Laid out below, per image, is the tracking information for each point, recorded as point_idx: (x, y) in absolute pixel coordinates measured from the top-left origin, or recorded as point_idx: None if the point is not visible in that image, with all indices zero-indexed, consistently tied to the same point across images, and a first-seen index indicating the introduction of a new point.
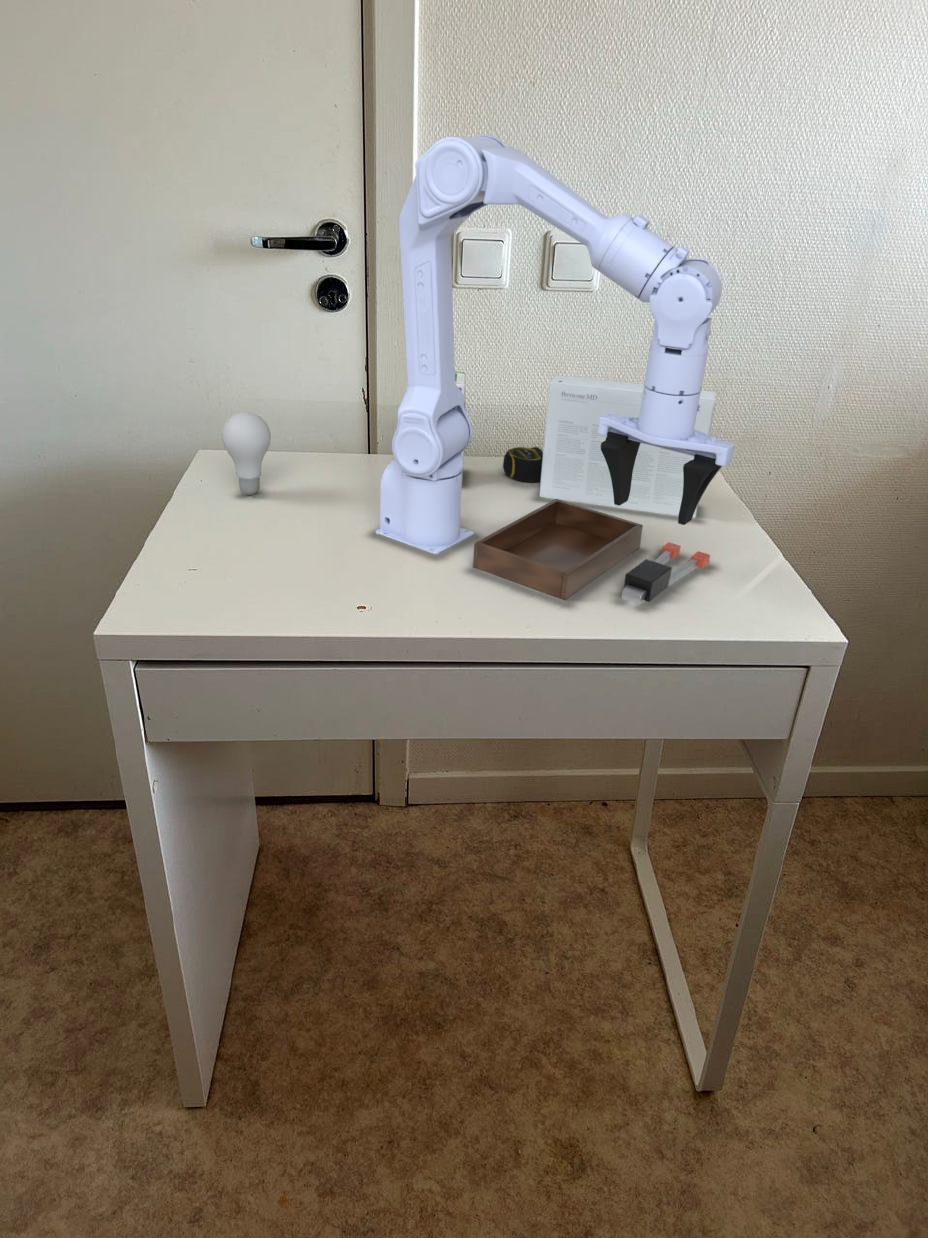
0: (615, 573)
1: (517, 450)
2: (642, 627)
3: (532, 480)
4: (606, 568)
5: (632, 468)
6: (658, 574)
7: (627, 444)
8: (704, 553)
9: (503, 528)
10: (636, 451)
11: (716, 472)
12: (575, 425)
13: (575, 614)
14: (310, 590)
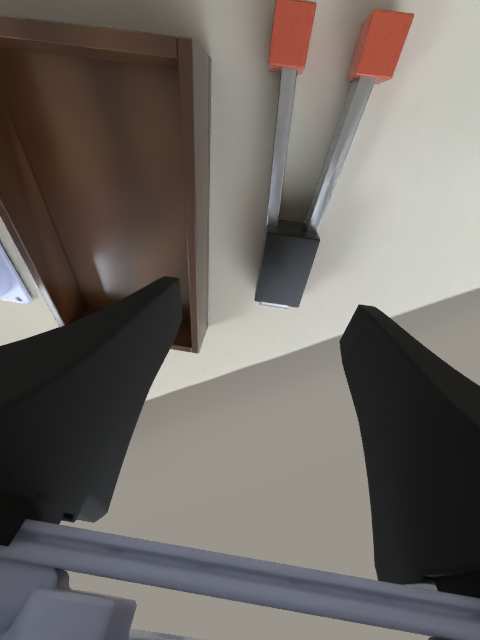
0: (218, 214)
1: None
2: (300, 332)
3: None
4: (206, 236)
5: (129, 331)
6: (301, 279)
7: (75, 505)
8: (395, 17)
9: (34, 276)
10: (78, 380)
11: None
12: None
13: (227, 338)
14: None
